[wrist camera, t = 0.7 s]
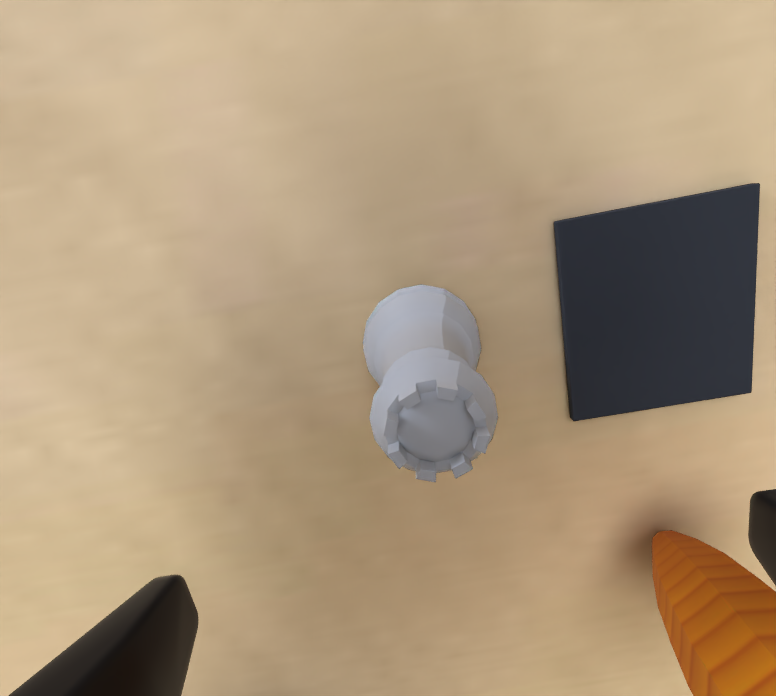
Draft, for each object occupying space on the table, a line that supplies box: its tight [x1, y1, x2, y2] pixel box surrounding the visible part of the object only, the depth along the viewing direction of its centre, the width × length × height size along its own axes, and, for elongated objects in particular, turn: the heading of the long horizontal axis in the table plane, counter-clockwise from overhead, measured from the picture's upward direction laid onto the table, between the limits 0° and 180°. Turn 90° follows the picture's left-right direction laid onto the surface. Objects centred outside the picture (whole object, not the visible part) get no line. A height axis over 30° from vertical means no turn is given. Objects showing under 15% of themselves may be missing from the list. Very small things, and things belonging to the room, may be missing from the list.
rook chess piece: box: [363, 284, 498, 482], centre depth 15 cm, size 4×4×8 cm
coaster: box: [554, 183, 760, 421], centre depth 18 cm, size 8×7×1 cm
